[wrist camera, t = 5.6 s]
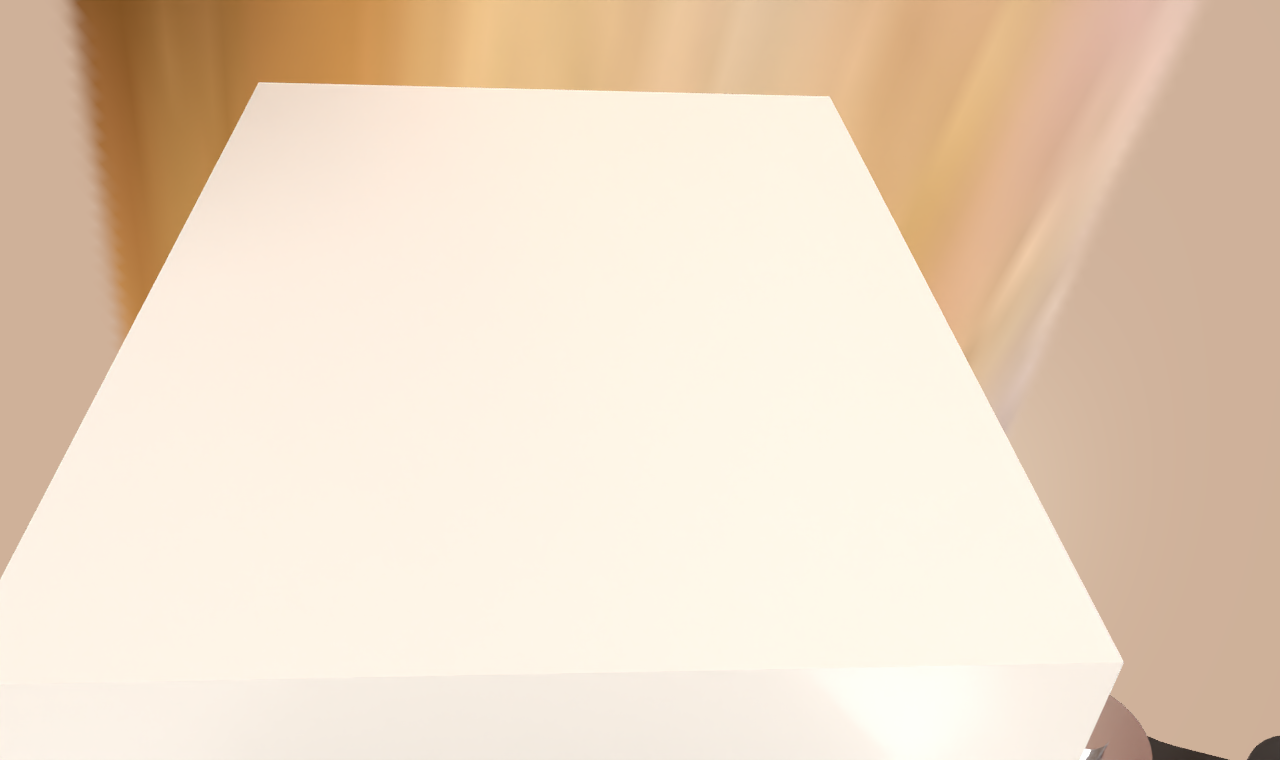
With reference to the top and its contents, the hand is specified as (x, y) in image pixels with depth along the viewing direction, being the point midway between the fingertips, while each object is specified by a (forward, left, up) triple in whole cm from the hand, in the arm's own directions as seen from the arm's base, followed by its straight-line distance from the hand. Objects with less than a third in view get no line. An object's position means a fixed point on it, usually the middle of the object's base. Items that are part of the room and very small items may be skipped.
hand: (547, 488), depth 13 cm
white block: (0, 0, -3) cm, 3 cm away
